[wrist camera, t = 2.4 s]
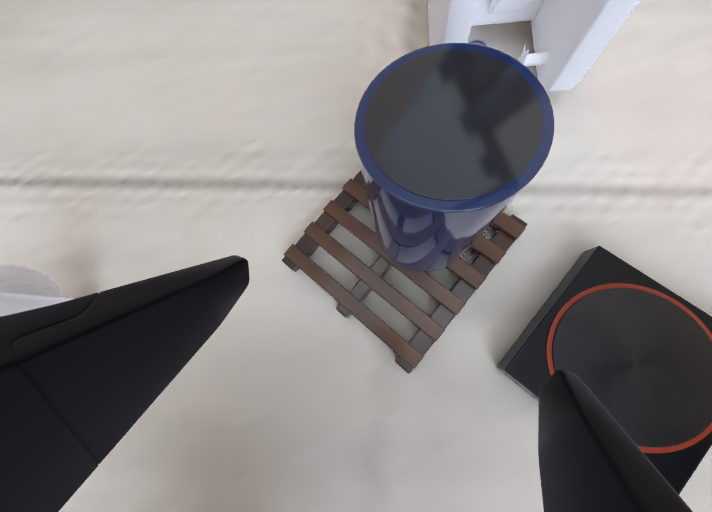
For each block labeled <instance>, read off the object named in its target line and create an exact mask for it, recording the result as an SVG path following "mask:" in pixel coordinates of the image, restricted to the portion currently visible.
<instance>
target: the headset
mask: <svg viewBox="0 0 712 512" xmlns="http://www.w3.org/2000/svg"><path fill="white" fill-rule="evenodd" d="M73 299H76V298H68V297H64V295H63V293H62V291H61V289H60V288H59V286H58V285H57V284H56V283H55V282H54V281H53V280H52V279H51V278H49V277H48V276H46V275H44V274H43V273H41V272H38V271H36V270H33V269H30V268H26V267H21V266H14V265H0V317H1V316H6V315H10V314H14V313H19V312H23V311H28V310H32V309H36V308H41V307H45V306H49V305H53V304H57V303H61V302H65V301H69V300H73Z"/></svg>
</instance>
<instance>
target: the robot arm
mask: <svg viewBox="0 0 712 512" xmlns="http://www.w3.org/2000/svg"><path fill="white" fill-rule="evenodd" d="M248 284H249V267H248V261H247V260H246V259H245V258H242V257H239V256H236V255H233V256H229V257H226V258H222V259H218V260H215V261H211V262H207V263H204V264H200V265H197V266H193V267H189V268H186V269H182V270H178V271H175V272H171V273H167V274H164V275H160V276H157V277H153V278H149V279H146V280H142V281H138V282H135V283H131V284H127V285H124V286H120V287H117V288H113V289H109V290H106V291H102V292H100V293H94V294H91V295H87V296H84V297H80V298H76V299H73V300H69V301H65V302H61V303H57V304H53V305H49V306H45V307H41V308H36V309H32V310H28V311H23V312H19V313H14V314H10V315H6V316H1V317H0V512H58V511H59V510H60V509H61V508H62V507H63V506H64V504H65V503H66V502H67V501H68V500H69V499H70V498H71V496H72V495H73V494H74V493H75V492H76V491H77V490H78V488H79V487H80V486H81V485H82V484H83V483H84V481H85V480H86V479H87V478H88V477H89V476H90V475H91V473H92V472H93V471H94V470H95V469H96V468H97V467H98V464H99V463H101V462H102V460H103V459H104V458H105V457H106V456H107V455H108V454H109V452H110V451H111V450H112V449H113V448H114V447H115V446H116V444H117V443H118V442H119V441H120V440H121V439H122V437H123V436H124V435H125V434H126V433H127V432H128V431H129V429H130V428H131V427H132V426H133V425H134V424H135V423H136V421H137V420H138V419H139V418H140V417H141V416H142V414H143V413H144V412H145V411H146V410H147V409H148V408H149V406H150V405H151V404H152V403H153V402H154V401H155V399H156V398H157V397H158V396H159V395H160V394H161V393H162V391H163V390H164V389H165V388H166V387H167V386H168V385H169V383H170V382H171V381H172V380H173V379H174V378H175V376H176V375H177V374H178V373H179V372H180V371H181V370H182V368H183V367H184V366H185V365H186V364H187V363H188V362H189V360H190V359H191V358H192V357H193V356H194V355H195V353H196V352H197V351H198V350H199V349H200V348H201V347H202V345H203V344H204V343H205V342H206V341H207V340H208V339H209V337H210V336H211V335H212V334H213V333H214V332H215V330H216V329H217V328H218V327H219V326H220V324H221V323H222V322H223V320H224V319H225V318H226V316H227V315H228V313H229V312H230V310H231V309H232V308H233V306H234V305H235V303H236V302H237V301H238V299H239V298H240V296H241V295H242V293H243V292H244V291H245V289H246V288H247V286H248ZM538 454H539V467H540V477H541V487H542V497H543V506H544V512H692V510H691V509H690V508H689V507H688V506H687V504H686V503H685V502H684V501H683V500H682V498H681V497H680V496H679V495H678V494H677V493H676V491H675V490H674V489H673V488H672V487H671V485H670V484H669V483H668V482H667V481H666V479H665V478H664V477H663V476H662V475H661V474H660V472H659V471H658V470H657V469H656V468H655V466H654V465H653V464H652V463H651V462H650V460H649V459H648V458H647V457H646V456H645V455H644V453H643V452H642V451H641V450H640V449H639V447H638V446H637V445H636V444H635V443H634V441H633V440H632V439H631V438H630V437H629V436H628V434H627V433H626V432H625V431H624V430H623V428H622V427H621V426H620V425H619V424H618V422H617V421H616V420H615V419H614V418H613V417H612V415H611V414H610V413H609V412H608V411H607V409H606V408H605V407H604V406H603V405H602V403H601V402H600V401H599V400H598V399H597V397H596V396H595V395H594V394H593V393H592V392H591V390H590V389H589V388H588V387H587V386H586V384H585V383H584V382H583V381H582V380H581V379H580V377H579V376H577V375H576V374H573V373H570V372H568V371H565V370H562V369H558V370H556V371H555V372H554V373H553V374H552V375H551V376H550V378H549V379H548V380H547V381H546V382H545V383H544V384H543V386H542V387H541V389H540V392H539V433H538Z"/></svg>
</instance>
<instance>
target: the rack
mask: <svg viewBox="0 0 712 512" xmlns="http://www.w3.org/2000/svg"><path fill="white" fill-rule="evenodd" d="M357 201H358V202H360V203H361V204H362V205H364V206H365V207H366V208H368V209H369V210H370V206H369V202H368V197H367V193H366V189H365V184H364V180H363V175H362V171H360V172H359V173H358V174H357V175H356V176H355V177H354V179H353V180H352V179H350V180H349V181H348V182H347V183H346V184H345V185H344V186H343V191H342V192H341V193H340V194H339V196H338V197H337V198H336V199H335V200H334V201H333V200H331V201H330V202H329V203H328V205H327V206H326V207H325V208H324V209H323V210H324V213H323V214H322V215H321V216H320V217H319V218H318V219H317V221H316V222H315V223H314V222H312V223H311V224H310V225H309V226H308V227H307V228H306V230H305V231H304V232H305V234H304V235H303V237H302V238H301V239H300V240H299V241H298V242H297V243H296V244H295V245H294V244H292V245H291V247H290V248H289V249H288V250H287V251H286V252H285V253H284V255H285V257H284V258H283V259H282V261H283V262H284V263H285V264H286V265H287V266H288V267H289V268H291V269H292V270H293V271H295V272H296V271H297V270H298V269H299V268H300V269H301V270H303V271H304V272H305V273H306V274H307V275H308V276H309V277H310V278H312V279H313V280H314V281H315V282H316V283H317V284H318V285H320V286H321V287H322V288H323V289H324V290H325V291H326V292H328V293H329V294H330V295H331V296H332V297H333V298H334V299H335V300H337V301H338V302H339V303H340V304H339V305H338V306H337V307H336V309H337V310H338V311H339V312H340V313H341V314H342V315H343V316H344V317H347V318H348V317H349V316H350V315H351V314H353V315H354V316H355V317H356V318H357V319H358V320H359V321H360V322H362V323H363V324H364V325H365V326H366V327H367V328H368V329H370V330H371V331H372V332H373V333H374V334H375V335H376V336H378V337H379V338H380V339H381V340H382V341H383V342H384V343H386V344H387V345H388V346H389V347H390V348H391V349H392V350H393V351H395V352H396V353H397V354H398V356H397V358H396V359H395V362H396V363H397V364H398V365H399V366H401V367H402V368H403V369H404V370H405V371H406V372H407V373H410V372H411V371H412V370H413V368H415V367H416V366H417V365H418V363H419V362H420V361H421V360H422V358H423V357H424V354H425V353H426V352H427V351H428V349H429V348H430V347H431V346H432V344H433V343H434V342H435V341H437V339H438V338H439V337H440V336H441V334H442V333H443V332H444V331H445V328H446V327H447V325H448V324H449V323H450V322H451V320H452V319H453V318H454V317H455V315H457V314H458V313H459V312H460V310H461V309H462V308H463V307H464V305H465V304H466V301H467V300H468V299H469V298H470V296H471V295H472V294H473V293H474V291H475V290H476V289H478V288H479V286H480V285H481V284H482V283H483V281H484V280H485V279H486V276H487V275H488V274H489V272H490V271H491V270H492V269H493V267H494V266H495V265H496V264H497V263H498V262H499V261H500V260H501V259H502V257H503V256H504V255H505V254H506V251H507V250H508V249H509V247H510V246H511V245H512V243H513V242H514V241H515V240H516V239H517V238H518V237H519V236H520V235H521V233H522V232H523V231H524V230H525V227H526V226H527V223H525V222H524V221H522V220H521V219H519V218H518V217H516V216H514V215H511V216H510V217H509V216H507V215H506V214H504V213H503V212H502V213H501V214H500V215H499V216H498V217H497V218H496V219H495V220H494V221H493V222H492V223H491V224H492V225H494V226H495V227H497V228H498V229H499V231H498V232H497V233H496V234H495V236H494V237H493V238H492V239H491V241H489V240H488V239H486V238H485V237H483V236H482V235H480V236H479V237H478V239H477V240H476V241H475V242H474V243H473V244H472V245H471V246H470V247H472V248H473V249H474V250H476V251H477V252H479V253H480V254H479V255H478V257H477V258H476V259H475V260H474V262H473V263H472V264H471V265H468V264H467V263H466V262H464V261H463V260H462V259H460V258H459V259H458V260H456V261H455V262H454V263H452V264H451V265H449V266H447V267H446V268H448V269H449V270H450V271H452V272H453V273H454V274H456V275H457V276H458V277H460V279H459V280H458V282H457V283H456V284H455V285H454V287H453V288H452V289H451V290H450V291H449V290H448V289H447V288H445V287H444V286H443V285H442V284H440V283H439V282H438V281H436V280H435V279H434V278H432V277H431V276H430V275H429V274H427V273H426V272H425V271H414V270H410V269H407V268H405V267H402V266H400V265H398V264H397V263H395V262H394V261H392V260H391V259H390V258H389V257H388V256H387V255H386V254H385V252H384V251H383V250H382V248H381V247H380V245H379V242H378V240H377V237H376V234H375V233H374V232H373V231H372V230H370V229H369V228H368V227H366V226H365V225H364V224H362V223H361V222H360V221H359V220H357V219H356V218H355V217H353V216H352V215H351V214H350V213H348V211H349V210H350V209H351V208H352V207H353V205H354V204H355V203H356V202H357ZM338 223H340V224H341V225H342V226H343V227H345V228H346V229H347V230H348V231H350V232H351V233H352V234H353V235H355V236H356V237H357V238H359V239H360V240H361V241H362V242H364V243H365V244H366V245H367V246H369V247H370V248H371V249H372V250H374V251H375V252H376V253H378V254H379V255H380V256H379V258H378V259H377V260H376V261H375V262H374V263H373V265H372V266H371V267H370V268H369V267H368V266H366V265H365V264H364V263H363V262H362V261H360V260H359V259H358V258H357V257H355V256H354V255H353V254H352V253H350V252H349V251H348V250H347V249H346V248H344V247H343V246H342V245H341V244H339V243H338V242H337V241H336V240H334V239H333V238H332V237H331V236H330V235H328V234H329V233H330V232H331V231H332V230H333V228H334V227H335V226H336V225H337V224H338ZM319 245H320V246H321V247H322V248H324V249H325V250H326V251H327V252H328V253H330V254H331V255H332V256H333V257H334V258H336V259H337V260H338V261H339V262H340V263H342V264H343V265H344V266H345V267H346V268H348V269H349V270H350V271H351V272H352V273H354V274H355V275H356V276H357V277H358V278H360V280H359V281H358V282H357V284H356V285H355V286H354V287H353V288H352V290H351V291H350V292H349V291H347V290H346V289H345V288H344V287H343V286H342V285H340V284H339V283H338V282H337V281H336V280H335V279H333V278H332V277H331V276H330V275H329V274H328V273H326V272H325V271H324V270H323V269H322V268H321V267H319V266H318V265H317V264H316V263H315V262H314V261H312V260H311V259H310V258H309V256H310V255H311V254H312V253H313V251H314V250H315V249H316V248H317V247H318V246H319ZM391 265H393V266H394V267H395V268H396V269H398V270H399V271H400V272H402V273H403V274H404V275H405V276H407V277H408V278H409V279H410V280H412V281H413V282H414V283H415V284H417V285H418V286H419V287H420V288H422V289H423V290H424V291H426V292H427V293H428V294H429V295H431V296H432V297H433V298H434V299H436V300H437V301H438V302H439V303H440V304H439V305H438V307H437V308H436V309H435V310H434V312H433V313H432V314H431V315H430V316H428V315H427V314H425V313H424V312H423V311H422V310H420V309H419V308H418V307H417V306H416V305H414V304H413V303H412V302H411V301H409V300H408V299H407V298H406V297H405V296H403V295H402V294H401V293H400V292H398V291H397V290H396V289H395V288H393V287H392V286H391V285H390V284H389V283H387V282H386V281H385V280H384V279H382V278H381V277H382V276H383V275H384V274H385V273H386V271H387V270H388V269H389V268H390V267H391ZM371 289H373V290H374V291H375V292H376V293H378V294H379V295H380V296H381V297H382V298H384V299H385V300H386V301H387V302H388V303H389V304H391V305H392V306H393V307H394V308H395V309H397V310H398V311H399V312H400V313H401V314H403V315H404V316H405V317H406V318H407V319H409V320H410V321H411V322H412V323H413V324H415V325H416V326H417V327H418V328H419V330H418V331H417V333H416V334H415V335H414V336H413V338H412V339H411V340H410V341H409V343H408V342H407V341H406V340H404V339H403V338H402V337H401V336H400V335H399V334H397V333H396V332H395V331H394V330H393V329H392V328H390V327H389V326H388V325H387V324H386V323H385V322H383V321H382V320H381V319H380V318H379V317H378V316H376V315H375V314H374V313H373V312H372V311H371V310H369V309H368V308H367V307H366V306H365V305H364V304H362V303H361V301H362V300H363V299H364V298H365V297H366V295H367V294H368V293H369V292H370V291H371Z"/></svg>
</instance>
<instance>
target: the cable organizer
mask: <svg viewBox="0 0 712 512" xmlns="http://www.w3.org/2000/svg"><path fill="white" fill-rule="evenodd" d="M639 2H640V0H428V20H429V46H432V45H437V44H444V43H468V39H469V35H470V31H471V27H472V26H477V25H487V24H498V23H508V22H519V21H529V20H531V27H532V35H533V44H534V52H535V53H528V52H529V50H530V49H529V50H527V51H526V52H525V46H524V49H523V52H522V55H521V57H520V58H519V60H518V61H519V62H521V63H522V64H523V65H524V66H535V65H536V69H537V77H538V80H539V81H540V83H541V84H542V86H543V87H544V89H545V91H546V92H549V91H564V90H571V89H573V88H574V87H576V85H577V84H578V83H579V82H580V80H581V79H582V78H583V76H584V75H585V74H586V72H587V71H588V70H589V68H590V67H591V66H592V64H593V63H594V62H595V60H596V59H597V58H598V56H599V55H600V54H601V52H602V51H603V50H604V48H605V47H606V46H607V44H608V43H609V42H610V40H611V39H612V38H613V36H614V35H615V34H616V32H617V31H618V30H619V28H620V27H621V26H622V24H623V23H624V22H625V20H626V19H627V18H628V16H629V15H630V14H631V12H632V11H633V10H634V8H635V7H636V6H637V4H638V3H639Z"/></svg>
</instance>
